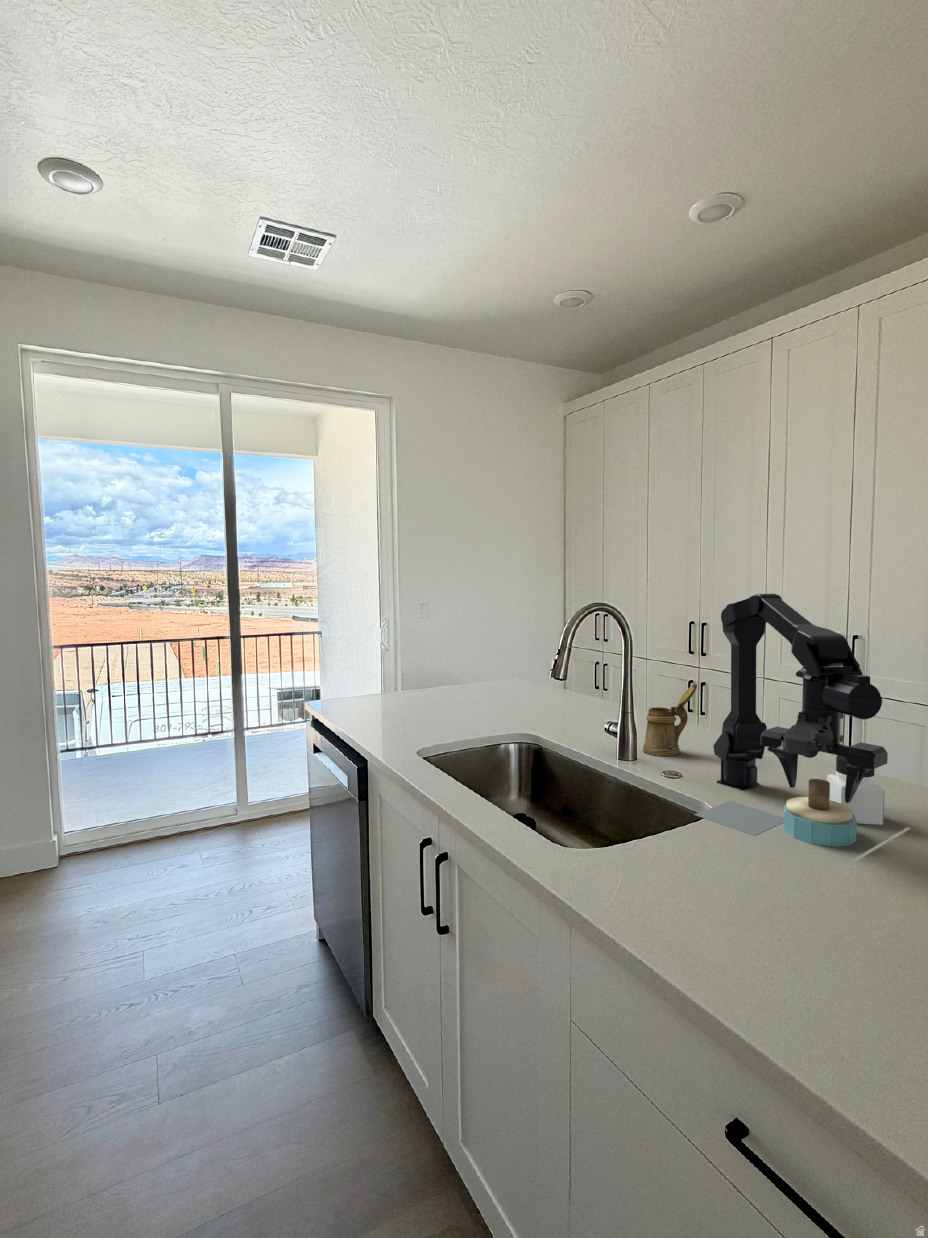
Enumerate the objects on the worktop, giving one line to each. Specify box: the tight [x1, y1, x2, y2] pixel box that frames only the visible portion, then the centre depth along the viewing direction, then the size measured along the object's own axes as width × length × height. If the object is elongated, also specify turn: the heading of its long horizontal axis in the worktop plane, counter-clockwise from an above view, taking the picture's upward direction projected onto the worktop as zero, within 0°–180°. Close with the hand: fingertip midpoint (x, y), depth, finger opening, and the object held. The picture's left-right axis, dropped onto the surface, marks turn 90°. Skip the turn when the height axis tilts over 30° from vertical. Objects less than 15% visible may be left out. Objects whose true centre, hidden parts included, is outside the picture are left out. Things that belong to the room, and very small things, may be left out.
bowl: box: [783, 804, 858, 848], centre depth 107 cm, size 11×11×4 cm
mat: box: [693, 800, 784, 837], centre depth 115 cm, size 12×12×1 cm
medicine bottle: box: [826, 755, 885, 826], centre depth 114 cm, size 7×7×12 cm
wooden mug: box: [642, 684, 698, 757], centre depth 159 cm, size 9×14×18 cm, turn 80°
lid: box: [785, 778, 853, 824], centre depth 107 cm, size 10×10×6 cm
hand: (819, 794), depth 107 cm, fingers open, 9 cm apart
